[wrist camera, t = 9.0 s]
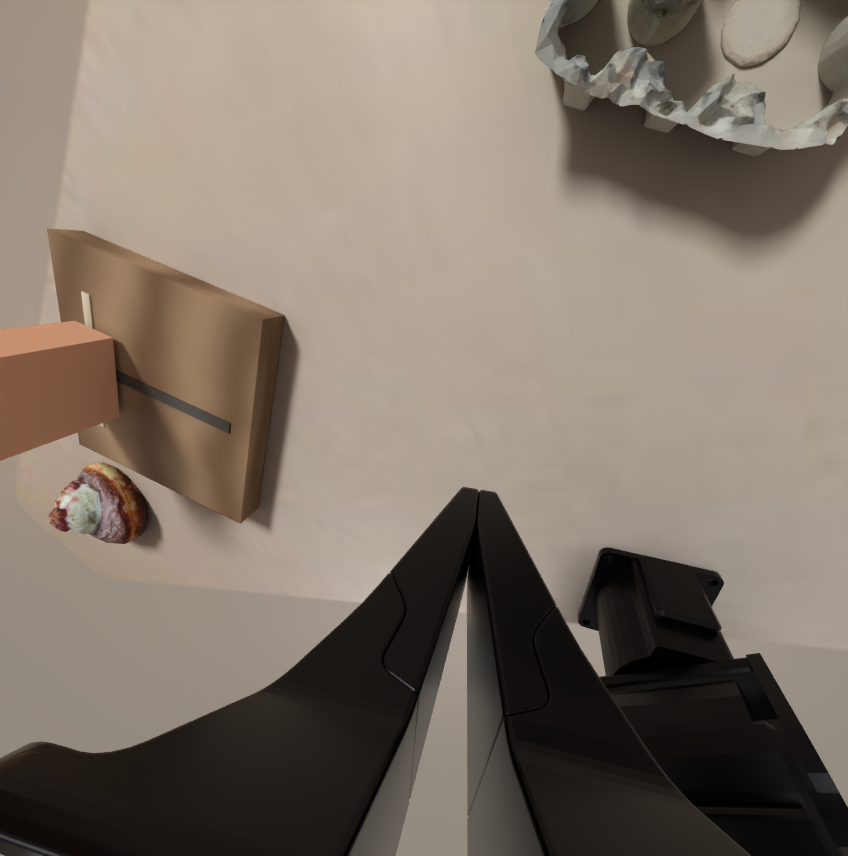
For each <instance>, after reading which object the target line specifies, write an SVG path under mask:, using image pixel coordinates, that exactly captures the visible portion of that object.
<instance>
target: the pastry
mask: <svg viewBox="0 0 848 856" xmlns="http://www.w3.org/2000/svg"><path fill="white" fill-rule="evenodd" d="M61 493H62V495H61V497H60V498H58V499H57V500H55V503H56V507H55V508H54V509H53V510H52V511H51V513H50V514H49V516H48V517H50V518H51V520H50V524H52V525H53V526H54V527H56V528H57V529H59V530H61V531H65V532H67V531H68V530H70V529H72V530H75V531H77V532H80V533H82V534H87V533H88V534H90V535H92V536H93V537H95V538H97V539H100V540H102V541H104V542H107V543H121V544H126V543H128V542H130V541H131V540H133V539H135V538H137V537H139V536H141V534H142V533H143V531H144V530H145V526H146V522H147V518H148V517H147V511H146V506H145V502H144V497H143V495H142V493H141V492H140V491H139V489H138V488H137V487H136V486H135V484H134V483H133V482H132V481H131V480H130V478H129V477H128V476H127V475H126V474H124V473H123V472H122V471H120V470H119V469H118V468H115V467H113V466H111V465H108V464H106V463H95V464H91V465H88V466H87V467H86V468H85V469H83V471H82V472H81V474H80V475H79V477H78V478H77V480H76V481H72V482H71V483H70V484H69V485H68V486H67V487H66V488H65V489H64V491H62V492H61Z"/></svg>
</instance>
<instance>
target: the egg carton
mask: <svg viewBox="0 0 848 856" xmlns="http://www.w3.org/2000/svg"><path fill="white" fill-rule="evenodd" d="M597 1H598V0H549V2H548V6H547V9H546V12H545V15H544V18H543V21H542V24H541V27H540V32H539V37H538V41H537V46H536V51H535V53H536V55H537V57H538V58H539V60H541V61H542V62H543V63H544V64H545V65H547V66H548V67H549V68H550V69H551V70H552V71H554V72H555V73H556V74H557V75H559V76H560V77H562V78H563V79H564V86H565V88H564V95H563V105H565V106H568V107H571V108H575V109H579V110H585V109H586V108H587V107H588V106H589V104H590V103H591V101H592V100H593V98H594V97H598V98H601V99H602V98H606V97H607V98H610V100H611V101H612V102H613V103H614V104H615V105H619V106H627V105H632V104H634V105H640V106H641V107H643V108H644V109H645V110H647V115H646V119H645V124H644V126H645V127H647V128H650V129H654V130H657V131H661V132H666V133H667V132H670V131H671V130H672V129H673V128H674V127H675V126H676V125H677V124H678V123H680V124H683V125H686V126H688V127H691V128H693V129H695V130H697V131H699V132H702V133H704V134H706V135H709V136H711V137H714V138H716V139H721V140H727V141H733V142H734V143H733V146H732V148H731V149H733V150H734V151H737V152H739V153H743V154H747V155H752V156H758V155H760V154H763V153H764V152H765V151H767V150H768V149H770V148H774V149H780V150H791V149H801V148H807V147H812V146H818V145H824V144H830V145H833V144H834V143H835V142H836V141H837V139H838V138H839V137H840V136H841V135H842V133H843V132H844V130H845V129H846V127H847V126H848V16H847V17H845V18H844V19H843V20H842V21H841V22H840V23H839V24H838V25H837V26H836V27H835V28H834V30H833V31H832V32H831V34H830V35H829V37H828V38H827V40H826V42H825V44H824V46H823V49H822V51H821V54H820V58H819V62H818V75H819V77H820V80H821V81H822V83H823V84H824V85H825V87H827V88H828V89H830V90H831V91H833V94H832V97H831V99H830V101H829V102H828V103H827V105H826V106H825V107H824V108H823V110H822V111H820V112H819V113H817V114H816V115H814V116H813V117H811V118H809V119H807V120H806V121H804V122H802V123H800V124H798V125H796V126H795V127H793V128H791V129H789V130H784V131H782V130H780V129H777V128H775V127H773V126H772V125H766V123H765V107H766V105H765V101H764V98H765V93H766V92H764V91H760V90H759V89H758V88H757V86H756V85H754V84H752V83H749V82H744V81H738V80H735V79H734V74H735V73H734V74H731V75H729V76H728V77H727V78H725V79H723V80H722V81H720V82H718V83H717V84H715V85H713V86H712V87H711V88H709V89H708V90H707V91H706V93H705V94H704V95H703V96H702V97H701V98H700V100H699V101H698V102H697V103H696V104H695V105H694V106H693V107H692V108H691V109H690V110H689V111H688V112H686V110H685V104H684V103H683V101H673V98H672V91H670V90H668V89H666V88H665V84H664V78H665V76H666V70H665V66H664V62H663V61H655V60H654V59H653V58H652V57H651V55H650V54H649V53H648V52H647V49H645V48H640V47H635V48H628V49H626V50H623V51H617V52H616V54H615V55H614V56H613V57H612V58H611V60H610V61H609V62H608V64H607V65H606V66H605V68H604V69H603V70H601V71H600V72H599V73H597V74H596V75H591V74H590V73H589V65H588V63H587V61H586V57H585V56H583V55H576V56H574V57H573V58H572V59H570V60H567V56H566V50H565V47H564V45H563V44H562V43H561V41H560V38H559V36H558V30H560V29H562V27H563V26H566V25H570V24H572V23H575V22H577V21H578V20H580V19H581V18H583V17H584V16H585V15H586V14H588V13H589V12H590V11H591V10H592V9H593V7H594V6H595V4H596V3H597ZM702 1H703V0H630V1H629V5H628V14H627V21H628V27H629V30H630V34H631V36H632V38H633V39H634V40H635V41H636V42H637V43H639V44H641V45H644V46H649V47H651V46H656V45H660V44H662V43H664V42H666V41H668V40H670V39H671V38H672V37H674V36H675V35H676V34H678V33H679V32H681V31H682V30H683V29H684V28H685V26H686V25H687V24H688V23H689V21H690V20H691V18H692V17H693V15H694V14H695V12H696V10H697V9H698V7H699V6H700V4H701V2H702ZM800 3H801V0H738V1H737V2H736V3H735V4H734V5H733V7H732V8H731V10H730V11H729V13H728V14H727V16H726V19H725V22H724V25H723V27H722V31H721V48H722V50H723V53H724V56H725V57H726V58H727V59H728V60H729V61H730V62H731V63H732V64H734V65H736V66H739V67H749V66H754V65H757V64H760V63H762V62H763V61H765V60H767V59H769V58H770V57H772V56H773V55H774V54H776V53H777V52H779V51H780V50H781V49H782V47H783V46H784V45H785V44H786V43H787V41H788V40H789V38H790V37H791V35H792V34H793V32H794V30H795V28H796V25H797V23H798V21H799V12H800ZM666 101H669V102H672V104H671V106H669V107H665V108H664V105H663V103H665V102H666Z"/></svg>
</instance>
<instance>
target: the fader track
mask: <svg viewBox="0 0 848 856" xmlns="http://www.w3.org/2000/svg"><path fill="white" fill-rule="evenodd" d="M47 231H48V238H49V244H50V251H51V258H52V264H53V271H54V278H55V284H56V291H57V297H58V304H59V311H60V317H61V322H68V321H77V322H79V323H81V324H83V325H86V326H88V327H90V328H92V329H94V330H97V331H99V332H101V333H103V334H105V335H108V336H110V337H112V338H113V346H114V357H115V369H116V380H117V392H118V404H119V415H120V417H118V418H115V419H113V420H110V421H107V422H104V423H102V424H99V425H96V426H94V427H91V428H88V429H85V430H83V431H80V432H78V436H79V443H80V445H82V446H84V447H87V448H89V449H91V450H93V451H95V452H97V453H99V454H101V455H103V456H105V457H107V458H109V459H111V460H113V461H115V462H117V463H119V464H121V465H123V466H125V467H127V468H129V469H131V470H133V471H135V472H137V473H139V474H141V475H143V476H145V477H147V478H149V479H151V480H153V481H155V482H157V483H159V484H161V485H163V486H165V487H167V488H169V489H171V490H173V491H175V492H177V493H179V494H181V495H183V496H185V497H187V498H189V499H192V500H194V501H196V502H198V503H200V504H202V505H204V506H206V507H208V508H210V509H212V510H214V511H216V512H218V513H220V514H222V515H224V516H226V517H228V518H230V519H232V520H234V521H236V522H238V523H240V524H241V523H242V522H243V521H244V520H245V519H246V518H247V517H249V516H250V515H251V514H252V513H253V512H254V511H255V510H257V509H258V504H259V497H260V490H261V482H262V475H263V468H264V460H265V453H266V446H267V438H268V431H269V424H270V416H271V409H272V402H273V394H274V387H275V380H276V372H277V365H278V358H279V351H280V343H281V336H282V329H283V321H284V315H283V314H280V313H278V312H275V311H273V310H271V309H268V308H266V307H263V306H261V305H259V304H256V303H254V302H251V301H249V300H247V299H244V298H242V297H240V296H237V295H235V294H232V293H230V292H228V291H225V290H223V289H220V288H218V287H216V286H213V285H211V284H208V283H206V282H204V281H201V280H199V279H197V278H194V277H192V276H189V275H187V274H185V273H182V272H180V271H177V270H175V269H173V268H170V267H168V266H165V265H163V264H161V263H158V262H156V261H153V260H151V259H149V258H146V257H144V256H142V255H139V254H137V253H134V252H132V251H130V250H127V249H125V248H122V247H120V246H118V245H115V244H113V243H110V242H108V241H106V240H103V239H101V238H99V237H96V236H94V235H91V234H89V233H87V232H84V231H76V230H62V229H47Z"/></svg>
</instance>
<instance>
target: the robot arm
mask: <svg viewBox="0 0 848 856" xmlns="http://www.w3.org/2000/svg"><path fill="white" fill-rule="evenodd" d="M607 555H609V556H611V557H609V558H607V557H605V556H607ZM468 566H469V567H468ZM467 572H468V577H467ZM466 578H467V721H468V722H467V735H468V737H467V744H468V745H467V748H468V749H467V756H468V758H467V760H468V762H467V764H468V765H467V766H468V816H469V817H468V856H848V807H847V806H846V804H845V802H844V800H843V798H842V796H841V795H840V793H839V791H838V789H837V788H836V786H835V784H834V782H833V780H832V779H831V777H830V775H829V773H828V771H827V770H826V768H825V766H824V764H823V763H822V761H821V759H820V757H819V755H818V753H817V752H816V750H815V748H814V747H813V745H812V743H811V741H810V739H809V738H808V736H807V734H806V732H805V731H804V729H803V727H802V725H801V724H800V722H799V720H798V718H797V717H796V715H795V714H794V712H793V710H792V708H791V706H790V705H789V703H788V701H787V700H786V698H785V696H784V694H783V693H782V691H781V689H780V687H779V686H778V684H777V682H776V681H775V679H774V677H773V675H772V673H771V672H770V670H769V668H768V667H767V665H766V663H765V662H764V660H763V658H762V656H761V655H760V653H757V654H749V655H746V658H739V659H734V658H733V656H732V654H731V652H730V650H729V648H728V646H727V643H726V641H725V639H724V637H723V635H722V633H721V631H720V630H721V625H720V623H719V621H718V619H717V617H716V615H715V613H714V611H713V609H712V605H713V603H714V601H715V599H716V598H717V596H718V594H719V592H720V590H721V589H722V587H723V584H724V582H723V579H722V578H721V576H720V575H719V574H718V573H717V572H714V571H710V570H706V569H702V568H697V567H693V566H689V565H685V564H680V563H676V562H671V561H667V560H662V559H658V558H653V557H649V556H644V555H639V554H635V553H630V552H626V551H621V550H617V549H613V548H603V549H601V550H600V552H599V554H598V557H597V560H596V563H595V566H594V569H593V572H592V575H591V577H590V580H589V583H588V586H587V589H586V592H585V595H584V598H583V601H582V604H581V607H580V610H579V613H578V622H579V624H580V625H581V626H583V627H586V628H590V629H593V630H597V631H599V635H600V642H601V648H602V654H603V660H604V667H605V672H606V676H603V677H599V676H598V675H597V673H596V672H595V670H594V669H593V667H592V665H591V664H590V662H589V661H588V659H587V658H586V656H585V655H584V653H583V651H582V650H581V648H580V647H579V645H578V643H577V641H576V640H575V638H574V636H573V634H572V633H571V631H570V629H569V627H568V625H567V624H566V622H565V620H564V618H563V616H562V614H561V612H560V610H559V609H558V607H556V603H555V601H554V600H553V598H552V596H551V594H550V592H549V590H548V588H547V586H546V585H545V583H544V581H543V579H542V577H541V575H540V573H539V571H538V570H537V568H536V566H535V564H534V562H533V560H532V558H531V557H530V555H529V553H528V551H527V549H526V547H525V545H524V543H523V542H522V540H521V538H520V536H519V534H518V532H517V530H516V528H515V527H514V525H513V523H512V521H511V519H510V517H509V515H508V513H507V512H506V510H505V508H504V506H503V504H502V502H501V500H500V499H499V497H498V495H497V493H495V492H492V491H486V490H480V491H478V490H477V489H473V488H467V487H462V488H461V489H460V490H459V491H458V493H457V494H456V495H455V496H454V497H453V498H452V500H451V501H450V502H449V503H448V504H447V505H446V507H445V508H444V509H443V510H442V511H441V513H440V514H439V515H438V516H437V517H436V518H435V520H434V521H433V522H432V523H431V524H430V525H429V527H428V528H427V529H426V530H425V531H424V533H423V534H422V535H421V536H420V537H419V538H418V540H417V541H416V542H415V543H414V544H413V545H412V547H411V548H410V549H409V550H408V551H407V552H406V554H405V555H404V556H403V557H402V558H401V560H400V561H399V562H398V563H397V564H396V565H395V567H394V568H393V569H392V570H391V572H390V573H389V574H388V575H387V576H386V577H385V578H384V579H383V580H382V582H381V583H380V584H379V585H378V586H377V587H376V588H375V590H374V591H373V592H372V593H371V594H370V595H369V596H368V597H367V598H366V599H365V601H364V602H363V603H362V604H361V605H360V606H359V607H357V609H355V610H354V611H353V612H352V613H351V614H350V616H348V617H347V618H346V619H345V620H344V621H343V622H342V623H341V624H340V625H339V626H337V628H335V629H334V630H333V631H332V632H331V633H330V634H329V635H328V636H327V637H325V638H324V639H323V640H322V641H321V642H320V643H319V644H318V645H317V646H316V647H315V648H313V649H312V650H311V651H310V652H309V653H308V654H307V655H306V656H305V657H304V658H303V659H302V660H300V661H299V662H298V663H297V664H296V665H295V666H294V667H292V668H291V669H290V670H289V671H288V672H287V673H285V674H284V675H283V676H282V677H280V678H279V679H278V680H276V681H275V682H273V683H272V684H270V685H269V686H267V687H265V688H264V689H262V690H260V691H258V692H256V693H254V694H252V695H250V696H247V697H245V698H243V699H241V700H238V701H236V702H234V703H232V704H229V705H227V706H225V707H223V708H220V709H218V710H216V711H213V712H211V713H209V714H207V715H204V716H202V717H200V718H198V719H196V720H193V721H191V722H189V723H186V724H184V725H182V726H180V727H177V728H175V729H173V730H171V731H169V732H166V733H164V734H162V735H160V736H157V737H155V738H152V739H150V740H148V741H145V742H143V743H140V744H138V745H135V746H132V747H129V748H125V749H121V750H117V751H112V752H105V753H87V752H80V751H77V750H73V749H70V748H67V747H64V746H60V745H56V744H53V743H48V742H33V743H30V744H27V745H25V746H23V747H21V748H19V749H17V750H15V751H14V752H12V753H9V754H8V755H6V756H4V757H2V758H0V854H2V855H5V856H395V855H396V851H397V847H398V843H399V839H400V836H401V832H402V828H403V823H404V820H405V816H406V812H407V809H408V805H409V799H410V796H411V793H412V789H413V785H414V781H415V778H416V774H417V770H418V766H419V762H420V758H421V754H422V750H423V746H424V743H425V739H426V735H427V731H428V727H429V723H430V719H431V715H432V712H433V708H434V704H435V700H436V696H437V692H438V688H439V684H440V681H441V677H442V673H443V669H444V665H445V661H446V657H447V653H448V649H449V646H450V641H451V637H452V634H453V630H454V626H455V622H456V618H457V614H458V611H459V607H460V603H461V599H462V595H463V591H464V587H465V583H466ZM712 579H713V580H714V581H709V580H712ZM585 619H588V620H585Z"/></svg>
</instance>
